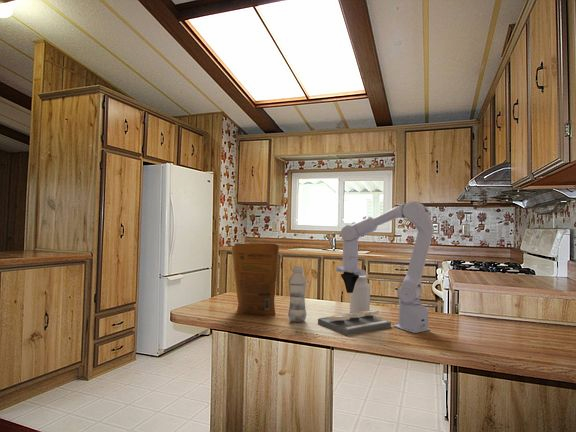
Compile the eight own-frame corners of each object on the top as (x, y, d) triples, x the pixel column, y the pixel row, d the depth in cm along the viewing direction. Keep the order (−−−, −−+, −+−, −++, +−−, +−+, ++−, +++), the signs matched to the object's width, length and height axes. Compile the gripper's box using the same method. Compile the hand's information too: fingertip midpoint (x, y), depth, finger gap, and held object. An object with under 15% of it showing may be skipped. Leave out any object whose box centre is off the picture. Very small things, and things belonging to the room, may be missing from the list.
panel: (390, 327, 131) (390, 319, 131) (347, 335, 120) (347, 327, 120) (359, 317, 144) (359, 310, 144) (317, 323, 133) (318, 316, 133)
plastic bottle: (304, 324, 132) (305, 268, 132) (286, 323, 133) (287, 267, 134) (307, 320, 138) (308, 266, 139) (289, 318, 140) (290, 265, 140)
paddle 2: (379, 314, 134) (378, 310, 134) (371, 315, 132) (371, 311, 132) (365, 314, 139) (365, 310, 140) (358, 315, 138) (357, 311, 138)
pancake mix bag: (275, 317, 141) (276, 244, 141) (229, 313, 146) (230, 242, 147) (280, 313, 147) (281, 243, 148) (236, 309, 153) (237, 241, 153)
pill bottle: (371, 315, 147) (372, 277, 147) (351, 315, 147) (351, 277, 147) (367, 310, 155) (368, 274, 155) (348, 310, 155) (348, 274, 155)
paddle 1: (349, 319, 126) (349, 315, 127) (341, 320, 124) (341, 316, 125) (336, 319, 132) (336, 315, 132) (328, 320, 130) (328, 316, 130)
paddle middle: (364, 316, 130) (364, 312, 130) (357, 317, 128) (356, 313, 128) (351, 317, 136) (351, 313, 136) (344, 318, 134) (343, 314, 134)
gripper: (330, 255, 146) (329, 290, 146) (355, 259, 134) (355, 296, 133) (343, 255, 150) (343, 288, 149) (369, 258, 137) (369, 295, 137)
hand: (349, 292), depth 142 cm, fingers closed
